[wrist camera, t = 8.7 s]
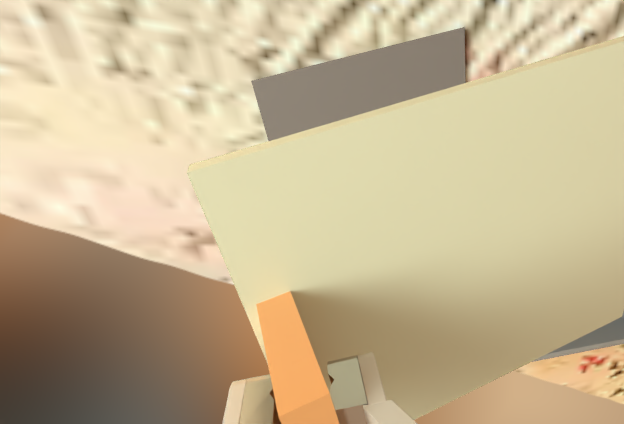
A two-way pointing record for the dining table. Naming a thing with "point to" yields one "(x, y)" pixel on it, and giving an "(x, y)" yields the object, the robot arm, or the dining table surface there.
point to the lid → (431, 233)
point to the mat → (359, 83)
